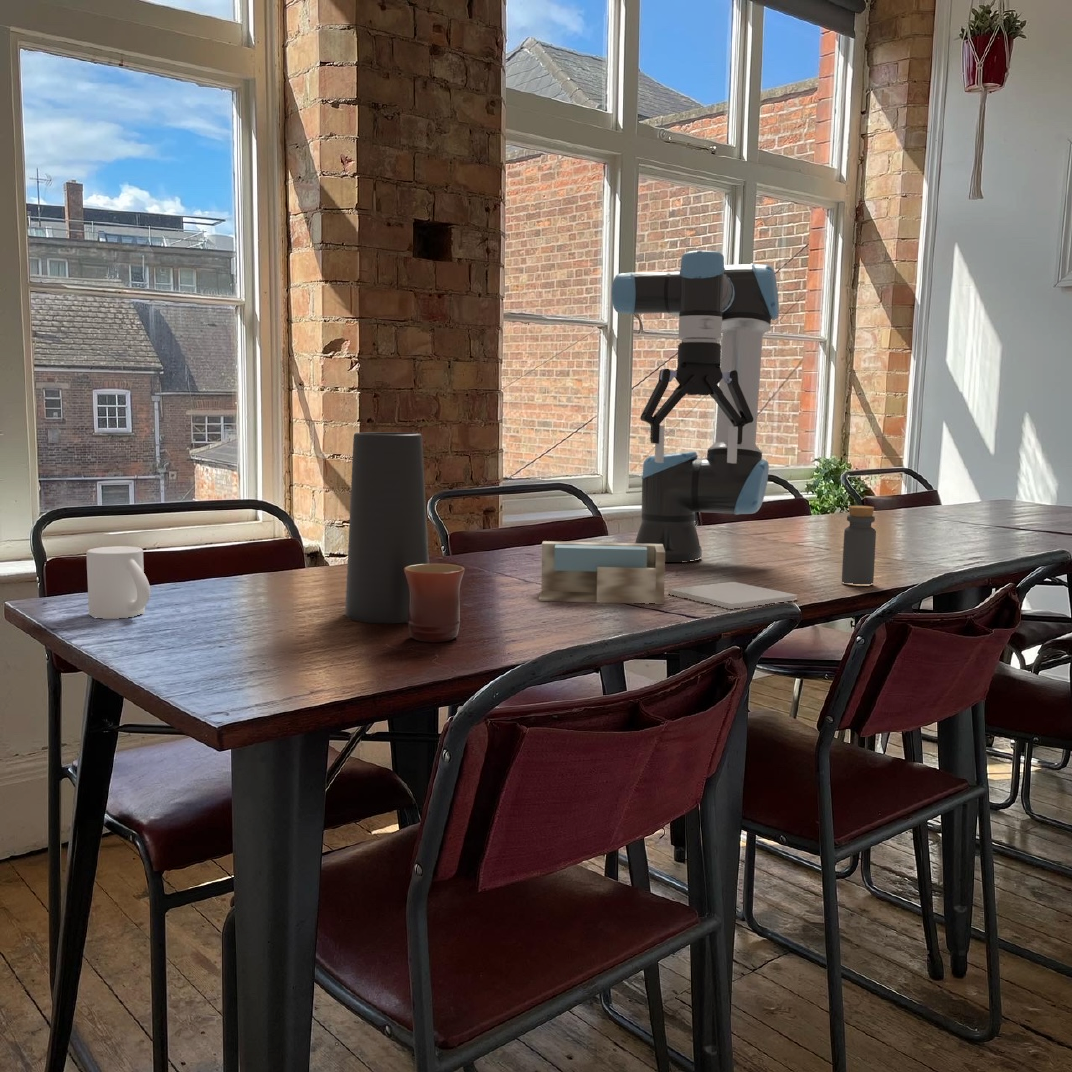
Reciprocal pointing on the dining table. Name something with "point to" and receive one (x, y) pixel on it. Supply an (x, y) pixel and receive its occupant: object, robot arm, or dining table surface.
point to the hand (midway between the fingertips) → (695, 463)
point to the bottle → (859, 546)
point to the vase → (385, 525)
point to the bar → (598, 557)
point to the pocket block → (604, 579)
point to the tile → (732, 594)
